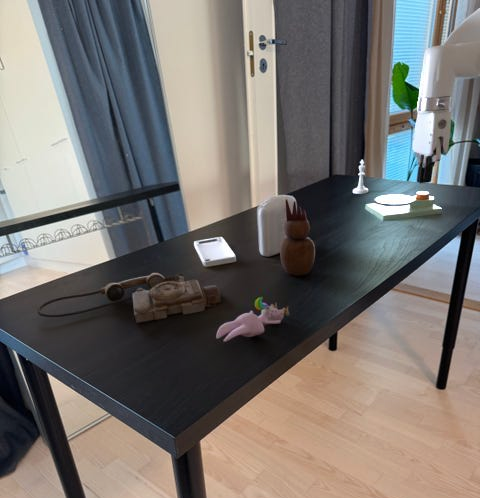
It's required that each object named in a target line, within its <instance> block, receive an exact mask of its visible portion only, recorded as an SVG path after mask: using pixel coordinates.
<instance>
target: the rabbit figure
mask: <svg viewBox="0 0 480 498" xmlns="http://www.w3.org/2000/svg"><path fill="white" fill-rule="evenodd" d="M263 298H264V297H263V296H260V297H258V298H257V299H255V301H254V307H255V309H256V310H259V311H261V313H260V315H256V314H255V313H254V310H250V311H249V312H245V313H242V314H240V315H239V316H237V317H236V318H235V319H234V320H233V321H227V322H225V323H223V324H221V325H220V326H219V328H218V329H217V332H216V336H215V338H216V339H217V340H218V339H220V338H222V337H223V336H225V338H223V340H222V341H223V342H224V343H226V342H228V341H229V340H232V339H233V338H235V337H237V336H239V335H240V336H242V337H245V338H251V337H255V336H259V335H262V334H263V333H264V332H265V326H267V325H277V324H281V322H282V321H283V320H284V317H285V315H287V316H290V311H289V306H286V307H283V308H282V309H278V305H277V304H278V303H277V302H275V304H274V303H271V304H270V305H268V304H267V303H266V302H263Z"/></svg>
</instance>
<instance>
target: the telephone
mask: <svg viewBox="0 0 480 498" xmlns="http://www.w3.org/2000/svg"><path fill="white" fill-rule="evenodd" d="M142 285H146V286H147V288H148V290H146V289H144V287H138V288H137V289H136V291H135V292H132V293H131V296H128V297H124V296H125V290H126V289H128V288H134V287H137V286H142ZM97 294H100V295H105V297H106V299H108V301H109V302H108V303H104V304H101V305H97V306H93V307H90V308H86V309H82V310H77V311H72V312H66V313H58V314H50V313H49V314H48V313H43V312H42V309H43V308H45V307H46V306H47V305H50V304H53V303H55V302H58V301H62V300H68V299H74V298H81V297H88V296H93V295H97ZM129 300H132V306H133V315H134V321H135V323H136V324H139V323H144V322H149V321H150V322H151V321H158V320H163V319H167V318H168V316H170V315H174V314H181V313H182V315H183V316H184V315H190V314H195V313H200V312H201V313H202V312H205V311H206V310H205V308H215V307H216V306H217V304H221V303H222V297H221V294H220V290H219V288H218V287H217V285H214V284H213V285H208V286H201V284H200V283H199V281H198V280H197V279H191V280H187V281H186V278H185V276H184V274H183V273H178V274H174V275H173V276H168V277H166V276H164V275H162V274H160V273H158V272H152V273H151V274H149V275H146V276H145V275H144V276H139V277H134V278H130V279H125V280H122V281H119V282H111V283H108V284H107V285H106V286H104V287H100V289H99V290H95V291H91V292H86V293H79V294H71V295H65V296H61V297H56V298H53V299H50V300H48V301H46V302H44V303H43V304H41V305H40V306H39V307H38V308H37V314H38V315H39V316H40V317H45V318H63V317H70V316H75V315H80V314H84V313H88V312H92V311H96V310H99V309H103V308H107V307H110V306H114V305H116V304H117V305H118V304H120V303H123V302H126V301H129Z"/></svg>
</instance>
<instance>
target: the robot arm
mask: <svg viewBox="0 0 480 498" xmlns="http://www.w3.org/2000/svg"><path fill="white" fill-rule="evenodd" d="M479 77H480V7H479V8H478V9H476V10H475V11H474V12H472V13H471V14H470V15H468V16H467V17H466V18H465V19H464V20H462V21H461V22H460V23H459V24H458V25H457V26H456V27H455V28H454V29H453V31H452V32H451V33H450V34H449V36H448V37H447V38H446V39H445V40H444V41H443V43H442V44H440V45H434V46H429V47H428V48H426V50H425V51H424V53H423V61H422V68H421V77H420V84H419V92H418V101H417V109H416V113H417V115H416V120H415V125H414V130H413V136H412V147H411V148H412V149H411V150H412V151H413V152H414V156H415V157H416V158H417V166H418V168H417V175H416V182H417V183H419V184H428V183H431V182H432V177H433V170H434V167H435V165H436V163H437V162H440V161H441V158H442V157H441V156H442V155H443V156H444V155H447V154H448V151H449V148H450V146H449V145H450V139H451V127H452V126H451V125H452V113H451V112H452V111H451V108H452V101H453V94H454V88H455V83H456V82H455V81H456V80H470V79H476V78H479Z"/></svg>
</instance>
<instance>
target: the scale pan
mask: <svg viewBox="0 0 480 498" xmlns="http://www.w3.org/2000/svg"><path fill="white" fill-rule="evenodd" d="M413 202H414V198H413V197H412V196H410V195H406V194H384V195H380V196H377V197H375V198H374V203H376V204H378V205H382V206H391V207H396V206H406V205H410V204H412V203H413Z"/></svg>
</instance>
